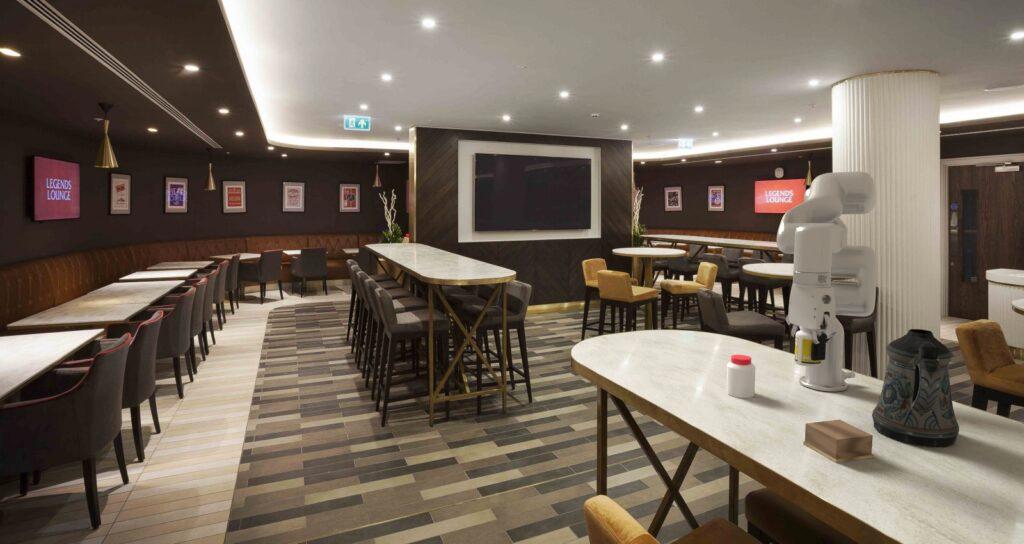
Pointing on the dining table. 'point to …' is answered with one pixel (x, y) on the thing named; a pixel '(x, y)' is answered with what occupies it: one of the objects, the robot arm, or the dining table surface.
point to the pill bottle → (740, 377)
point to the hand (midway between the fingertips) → (808, 355)
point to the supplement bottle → (804, 348)
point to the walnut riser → (838, 440)
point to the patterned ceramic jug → (917, 393)
